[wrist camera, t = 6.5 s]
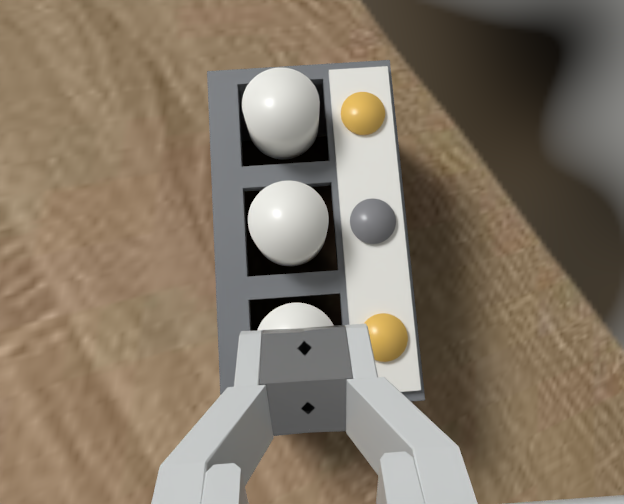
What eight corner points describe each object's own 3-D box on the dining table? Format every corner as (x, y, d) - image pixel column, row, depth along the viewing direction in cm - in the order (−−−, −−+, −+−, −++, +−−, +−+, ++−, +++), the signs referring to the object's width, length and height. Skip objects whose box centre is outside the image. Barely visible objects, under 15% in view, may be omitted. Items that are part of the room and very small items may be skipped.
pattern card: (419, 389, 22) (422, 390, 22) (355, 394, 22) (356, 395, 22) (386, 69, 25) (388, 63, 24) (328, 72, 24) (328, 67, 24)
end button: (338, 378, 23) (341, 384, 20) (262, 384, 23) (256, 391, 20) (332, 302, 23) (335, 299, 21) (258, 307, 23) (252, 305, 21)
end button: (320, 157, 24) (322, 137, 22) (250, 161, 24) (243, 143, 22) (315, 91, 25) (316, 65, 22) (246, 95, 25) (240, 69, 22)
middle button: (329, 263, 23) (331, 256, 21) (256, 269, 23) (250, 262, 21) (323, 193, 24) (325, 178, 22) (252, 198, 24) (245, 183, 21)
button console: (394, 380, 30) (425, 400, 22) (244, 391, 30) (221, 415, 22) (369, 124, 32) (389, 60, 25) (231, 133, 32) (207, 71, 24)
